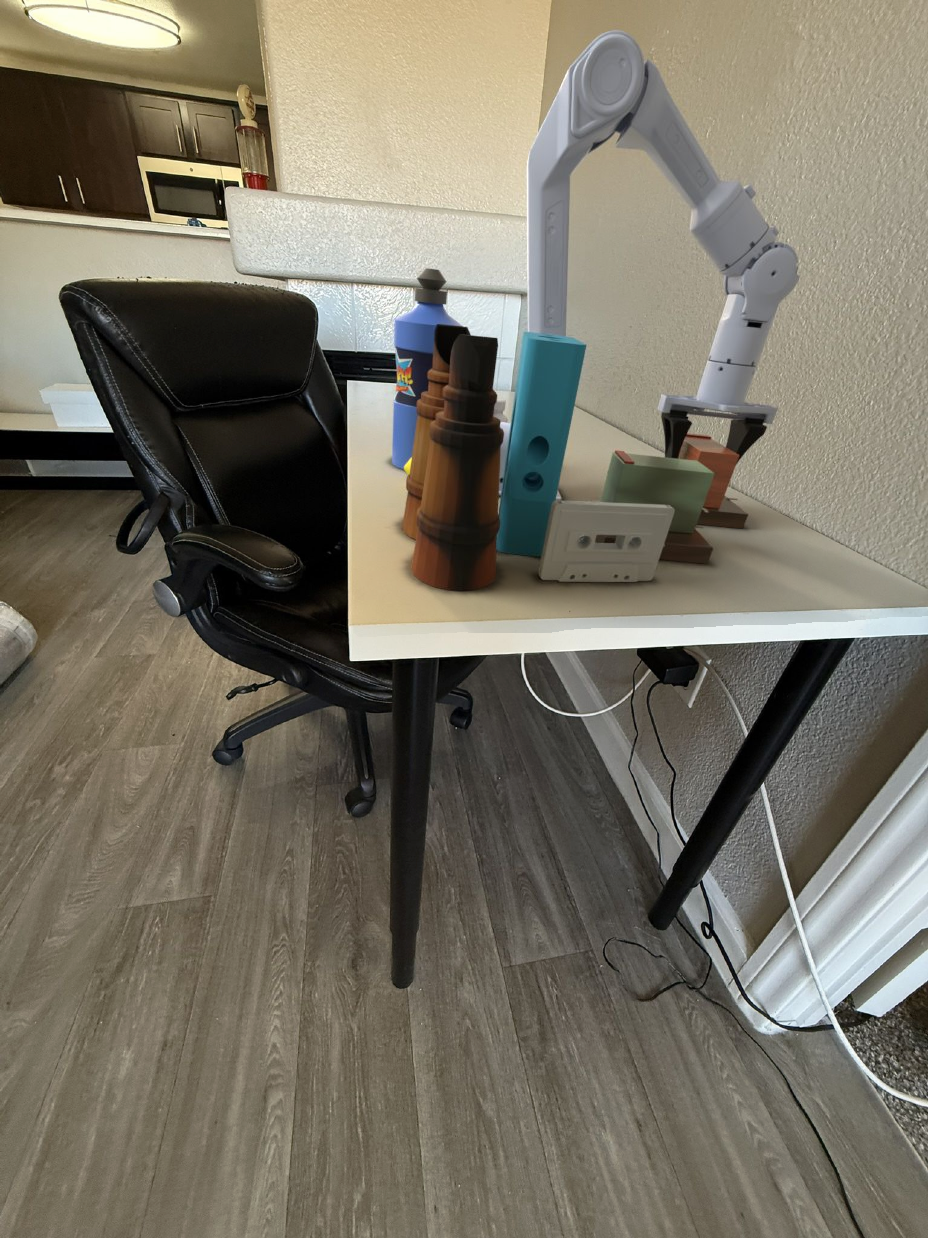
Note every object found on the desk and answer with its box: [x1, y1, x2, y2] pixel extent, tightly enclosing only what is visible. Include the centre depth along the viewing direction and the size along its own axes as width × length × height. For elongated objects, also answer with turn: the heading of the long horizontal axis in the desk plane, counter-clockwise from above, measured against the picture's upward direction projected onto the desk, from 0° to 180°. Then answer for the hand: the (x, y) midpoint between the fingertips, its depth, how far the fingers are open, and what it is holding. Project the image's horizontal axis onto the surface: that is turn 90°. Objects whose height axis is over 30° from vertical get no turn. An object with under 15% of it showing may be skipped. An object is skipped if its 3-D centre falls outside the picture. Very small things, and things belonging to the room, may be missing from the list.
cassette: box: [537, 500, 675, 583], centre depth 50 cm, size 12×2×8 cm, turn 99°
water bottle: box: [391, 267, 463, 470], centre depth 73 cm, size 9×9×25 cm
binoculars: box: [401, 324, 504, 592], centre depth 49 cm, size 18×8×20 cm, turn 11°
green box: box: [600, 450, 715, 534], centre depth 59 cm, size 10×5×7 cm, turn 89°
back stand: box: [697, 495, 749, 529], centre depth 73 cm, size 14×14×2 cm
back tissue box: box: [678, 432, 739, 508], centre depth 71 cm, size 10×5×7 cm, turn 179°
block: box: [496, 331, 587, 557], centre depth 53 cm, size 12×5×20 cm, turn 176°
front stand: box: [584, 500, 714, 565], centre depth 62 cm, size 14×14×2 cm
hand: (695, 472), depth 71 cm, fingers open, 7 cm apart
